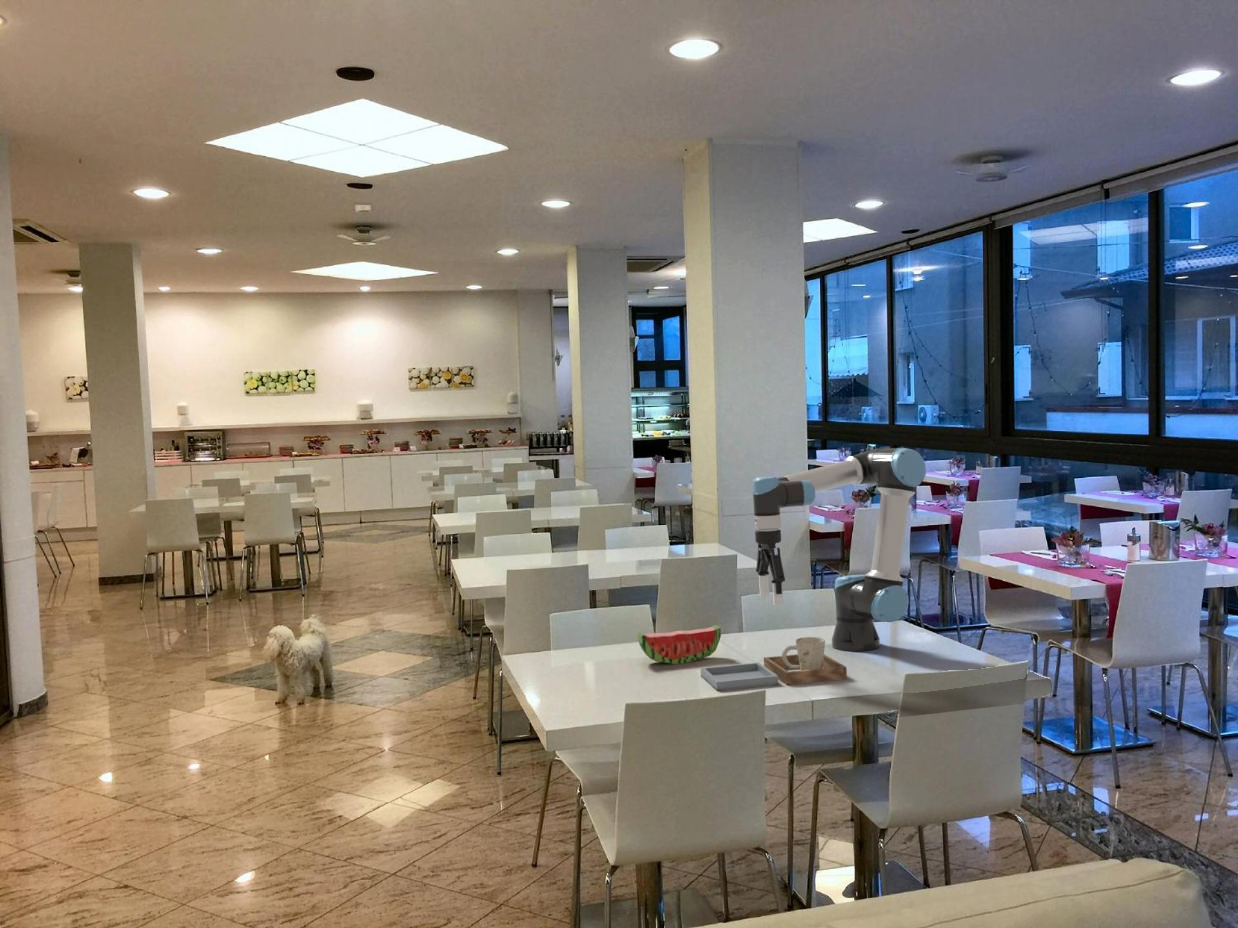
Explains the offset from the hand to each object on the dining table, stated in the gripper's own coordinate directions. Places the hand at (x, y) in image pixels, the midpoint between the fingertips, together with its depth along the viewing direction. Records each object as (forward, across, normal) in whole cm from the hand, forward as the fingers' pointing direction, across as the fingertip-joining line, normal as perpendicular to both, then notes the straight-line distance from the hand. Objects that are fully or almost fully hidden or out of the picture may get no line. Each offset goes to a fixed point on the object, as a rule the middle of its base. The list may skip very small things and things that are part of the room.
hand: (771, 600), depth 292 cm
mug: (+22, +5, +7) cm, 23 cm away
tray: (+21, +5, -13) cm, 25 cm away
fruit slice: (+21, -23, -24) cm, 39 cm away
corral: (+21, +5, +7) cm, 23 cm away
